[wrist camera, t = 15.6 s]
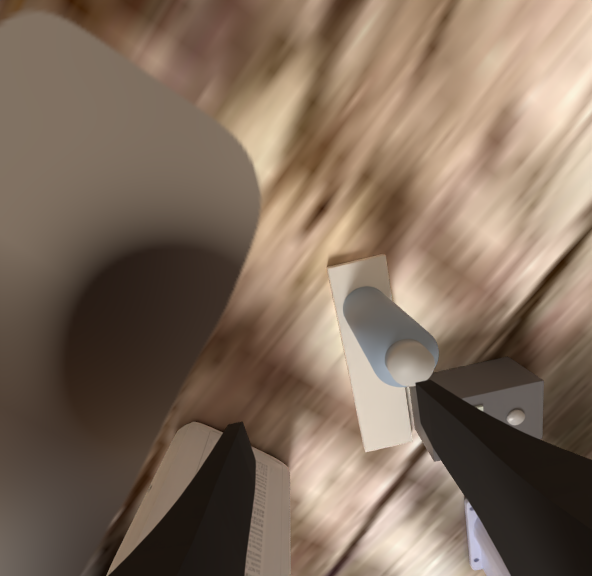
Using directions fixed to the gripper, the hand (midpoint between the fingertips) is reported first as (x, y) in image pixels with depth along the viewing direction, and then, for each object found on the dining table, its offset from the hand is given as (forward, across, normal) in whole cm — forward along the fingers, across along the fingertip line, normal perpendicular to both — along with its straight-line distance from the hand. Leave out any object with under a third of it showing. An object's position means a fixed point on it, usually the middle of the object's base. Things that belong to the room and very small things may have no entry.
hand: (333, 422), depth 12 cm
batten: (+10, -4, +4) cm, 11 cm away
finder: (+10, -11, +9) cm, 17 cm away
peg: (+9, -4, -1) cm, 10 cm away
